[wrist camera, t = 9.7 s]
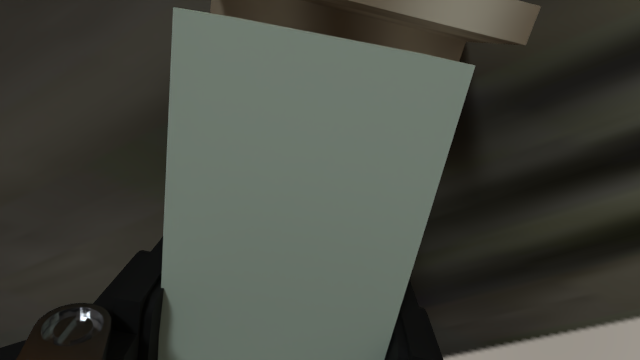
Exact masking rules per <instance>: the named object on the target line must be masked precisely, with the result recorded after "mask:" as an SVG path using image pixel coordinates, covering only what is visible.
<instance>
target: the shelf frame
mask: <svg viewBox="0 0 640 360" xmlns="http://www.w3.org/2000/svg"><path fill="white" fill-rule="evenodd" d="M540 7H541V6H538V5H534V4H530V3H526V2H522V1H518V0H211V8H210V13H212V14H218V15H225V16H231V17H236V18H241V19H246V20H252V21H257V22H262V23H267V24H272V25H278V26H283V27H288V28H293V29H298V30H303V31H309V32H314V33H319V34H324V35H329V36H335V37H340V38H345V39H350V40H355V41H360V42H366V43H371V44H376V45H381V46H386V47H392V48H397V49H402V50H407V51H412V52H417V53H422V54H427V55H431V56H436V57H440V58H444V59H449V60H453V61H457V62H459V60H460V57H461V54H462V52H463V49H464V46H465V43H466V42H481V43H497V44H514V45H526V43H527V40H528V38H529V35H530V33H531V30H532V28H533V25H534V23H535V20H536V17H537V15H538V12H539V10H540Z"/></svg>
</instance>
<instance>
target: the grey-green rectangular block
mask: <svg viewBox="0 0 640 360" xmlns="http://www.w3.org/2000/svg"><path fill="white" fill-rule="evenodd" d="M474 68H475V65H471V64H466V63H462V62H457V61H453V60H449V59H444V58H440V57H436V56H431V55H427V54H422V53H417V52H412V51H407V50H402V49H397V48H392V47H386V46H381V45H376V44H371V43H366V42H360V41H355V40H350V39H345V38H340V37H335V36H329V35H324V34H319V33H314V32H309V31H303V30H298V29H293V28H288V27H283V26H278V25H272V24H267V23H262V22H257V21H252V20H246V19H241V18H236V17H231V16H225V15H218V14H212V13H206V12H199V11H193V10H187V9H181V8H174V7H173V25H172V48H171V71H170V94H169V117H168V139H167V162H166V185H165V208H164V230H163V253H162V276H161V288H164V293H163V302H162V312H161V321H160V330H159V344H158V360H384V359H385V356H386V353H387V349H388V346H389V343H390V340H391V336H392V333H393V330H394V327H395V323H396V320H397V317H398V314H399V311H400V307H401V304H402V301H403V298H404V294H405V291H406V288H407V285H408V282H409V278H410V275H411V272H412V269H413V265H414V262H415V259H416V256H417V252H418V249H419V246H420V243H421V240H422V236H423V233H424V230H425V227H426V223H427V220H428V217H429V214H430V210H431V207H432V204H433V201H434V198H435V194H436V191H437V188H438V185H439V181H440V178H441V175H442V172H443V168H444V165H445V162H446V159H447V156H448V152H449V149H450V146H451V143H452V139H453V136H454V133H455V130H456V127H457V123H458V120H459V117H460V114H461V110H462V107H463V104H464V101H465V97H466V94H467V91H468V88H469V85H470V81H471V78H472V75H473V72H474Z"/></svg>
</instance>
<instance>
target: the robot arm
mask: <svg viewBox="0 0 640 360" xmlns="http://www.w3.org/2000/svg"><path fill="white" fill-rule="evenodd" d="M162 253H163V237H162V238H161V240H160V241H159V242H158V243H157V245H156V246H155V247H154V248H153V250H152V251H151V252H148V251H144V250H141V251H139V252H138V253H137V254H136V255H135V256H134V257H133V258H132V259H131V261H130V262H129V263H128V264H127V265H126V266H125V267H124V269H123V270H122V271H121V272H120V273H119V274H118V275H117V277H116V278H115V279H114V280H113V281H112V282H111V284H110V285H109V286H108V287H107V288H106V289H105V290H104V292H103V293H102V294H101V295H100V296H99V297H98V299H97V300H96V301H95V302H94V303H93V304H90V303H74V304H68V305H64V306H60V307H58V308H55V309H53V310H51V311H49V312H47V313H46V314H45V315H43V316H42V317H41V318H39V320H38V321H37V322H36V323H35V325H34V326H33V328H32V330H31V332H30V334H29V336H28V338H27V340H25V341H21V342H18V343H15V344H12V345H8V346H5V347H2V348H0V360H158V344H159V330H160V321H161V312H162V302H163V293H164V288H161V276H162ZM384 360H443V357H442V355H441V352H440V349H439V346H438V343H437V340H436V338H435V335H434V332H433V329H432V326H431V323H430V321H429V318H428V315H427V312H426V311H425V309H424V308H421V307H419V306H418V303H417V300H416V297H415V294H414V291H413V288H412V285H411V282H410V279H409V282H408V285H407V288H406V291H405V294H404V298H403V301H402V304H401V307H400V311H399V314H398V317H397V320H396V323H395V327H394V330H393V333H392V336H391V340H390V343H389V346H388V349H387V353H386V356H385V359H384Z"/></svg>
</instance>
